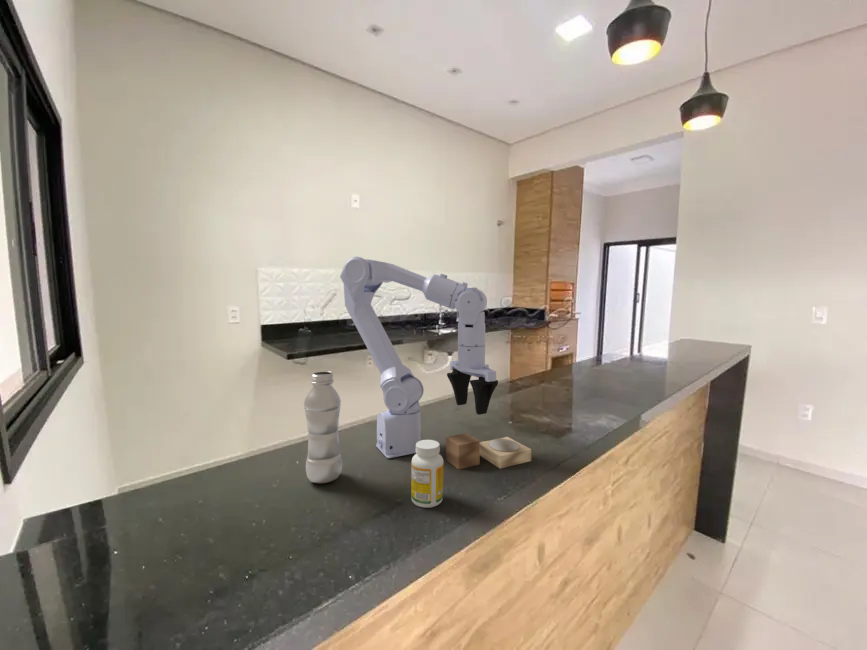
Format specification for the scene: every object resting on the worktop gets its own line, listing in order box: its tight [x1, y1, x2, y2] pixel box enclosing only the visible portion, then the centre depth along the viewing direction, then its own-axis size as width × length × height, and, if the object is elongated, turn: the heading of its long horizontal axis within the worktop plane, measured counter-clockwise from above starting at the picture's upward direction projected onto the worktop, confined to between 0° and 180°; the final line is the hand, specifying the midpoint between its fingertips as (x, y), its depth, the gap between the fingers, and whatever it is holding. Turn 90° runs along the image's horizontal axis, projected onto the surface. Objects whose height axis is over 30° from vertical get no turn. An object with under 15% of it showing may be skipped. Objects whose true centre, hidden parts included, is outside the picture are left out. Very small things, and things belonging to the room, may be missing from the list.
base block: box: [480, 436, 532, 469], centre depth 80 cm, size 8×8×3 cm
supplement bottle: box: [410, 439, 445, 509], centre depth 63 cm, size 5×5×10 cm
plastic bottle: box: [303, 370, 343, 484], centre depth 70 cm, size 6×7×20 cm
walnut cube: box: [445, 432, 481, 470], centre depth 78 cm, size 5×5×5 cm
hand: (471, 408), depth 80 cm, fingers open, 7 cm apart
